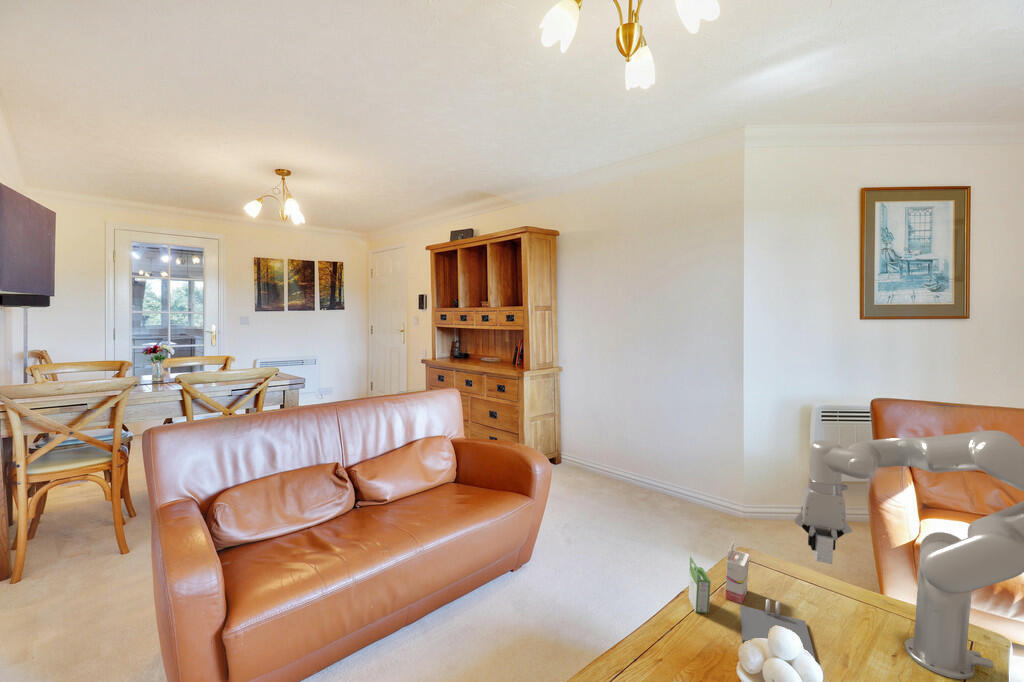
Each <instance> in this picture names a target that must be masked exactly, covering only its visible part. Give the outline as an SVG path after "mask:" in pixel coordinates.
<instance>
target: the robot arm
mask: <svg viewBox="0 0 1024 682" xmlns="http://www.w3.org/2000/svg"><path fill="white" fill-rule="evenodd" d="M808 466H809V467H808V485H807V486H805V487H804V490H803V493H802V498H801V507H800V512H799V513H798V514H797V516H796V517H795V518H794V520H793V521H794V523H795V524H796V525H797V526H799V527H801V528H802V529H803V530H804V531H805V532H806V533H807V534H808V537H807V538H808V539H807V545H808V546H809V547H810V548H811V551H812V552H813V551H814V550H815V534H814V531H815V527H822V528H828V529H829V530H830V532H831V534H832V536H833V539H834V541H833V551H836V543H837V542H836V541H837V540H838V539H839V538H841V537H842V536H844V535H848V534H851V533H852V532H853V529H852V528H851V526H850V524H849V523H848V521H847V515H846V513H847V512H846V501H845V495H844V493H843V491H848V488H849V487H848V485H847V484H845V483H842V481H843V480H842V478H843V477H842V475H846V476H849V477H851V478H855V479H859V480H865V479H870V478H871V477H873V476H874V475H875V474H876V473H877V471H878V469H879V468H890V467H892V468H893V467H910V468H915V469H916V468H917V469H919V470H923V471H924V472H929V473H933V474H934V473H935V474H939V473H940V474H941V473H952V472H965V471H980V470H981V471H983V472H984V473H986V475H989V476H991V477H993V478H994V479H996V480H998V481H1000V482H1002V483H1004V484H1006V485H1008V486H1010V487H1013V488H1014V489H1017V490H1019V491H1021V492H1024V446H1022V445H1021V443H1020V441H1018V440H1017V439H1016V438H1015V437H1013V435H1012V434H1009V433H1007V432H1005V431H1001V430H993V429H992V430H981V431H980V430H978V431H971V432H961V433H951V434H944V435H934V436H933V435H932V436H925V437H894V438H893V437H892V438H880V439H872V440H871V439H870V440H864V441H858V442H855V443H853V444H850V445H849V446H848V448H843V446H841V445H840V444H839V443H836V442H833V441H830V440H829V441H828V440H814V441H813V442H811V444H810V448H809V465H808ZM919 546H920V547H919V563H918V577H917V578H918V579H917V580H918V581H917V592H916V607H915V619H914V633H913V637H910V638H908V639H907V640H905V642H904V643H905V644H904V647H905V648H904V649H905V652H906V653H907V654H908V655H909V656H910V658H911V659H912V660H914V661H915V662H916V663H918V664H919V665H920V666H922V667H924V668H926V669H927V670H929V671H931V672H934V673H935V674H939V675H941V676H944V677H947V678H951V679H956V680H968V679H971V678H973V677H974V675H975V667H976V666H980V667H982V668H988V669H993V670H994V667H995V665H994V661H993V660H992V659H991V658H987V657H982V655H981V654H982V653H981V652H980V651H975V650H971V649H968V638H969V635H968V634H969V628H970V627H969V626H970V615H971V605H972V594H973V593H972V592H974V591H977V590H980V589H983V588H986V587H990V586H992V585H996V584H999V583H1003V582H1006V581H1008V580H1011V579H1014V578H1016V577H1019V576H1021V575H1022V574H1024V500H1022V501H1020V502H1018V503H1016V504H1014V505H1011V506H1009V507H1007V508H1004V509H1001V510H999V511H996V512H993V513H991V514H989V515H986V516H983V517H980V518H978V519H977V518H976V519H974V520H973V521H972V522H971V523H970V524H969V526H968V528H967V537H966V538H964V539H961V538H960V537H958V536H956V535H954V534H952V533H948V532H941V531H939V532H937V531H936V532H932V533H930V534H927V535H926V536H925V537H924V538H923V539H922V541H921V542H920V545H919Z"/></svg>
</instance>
